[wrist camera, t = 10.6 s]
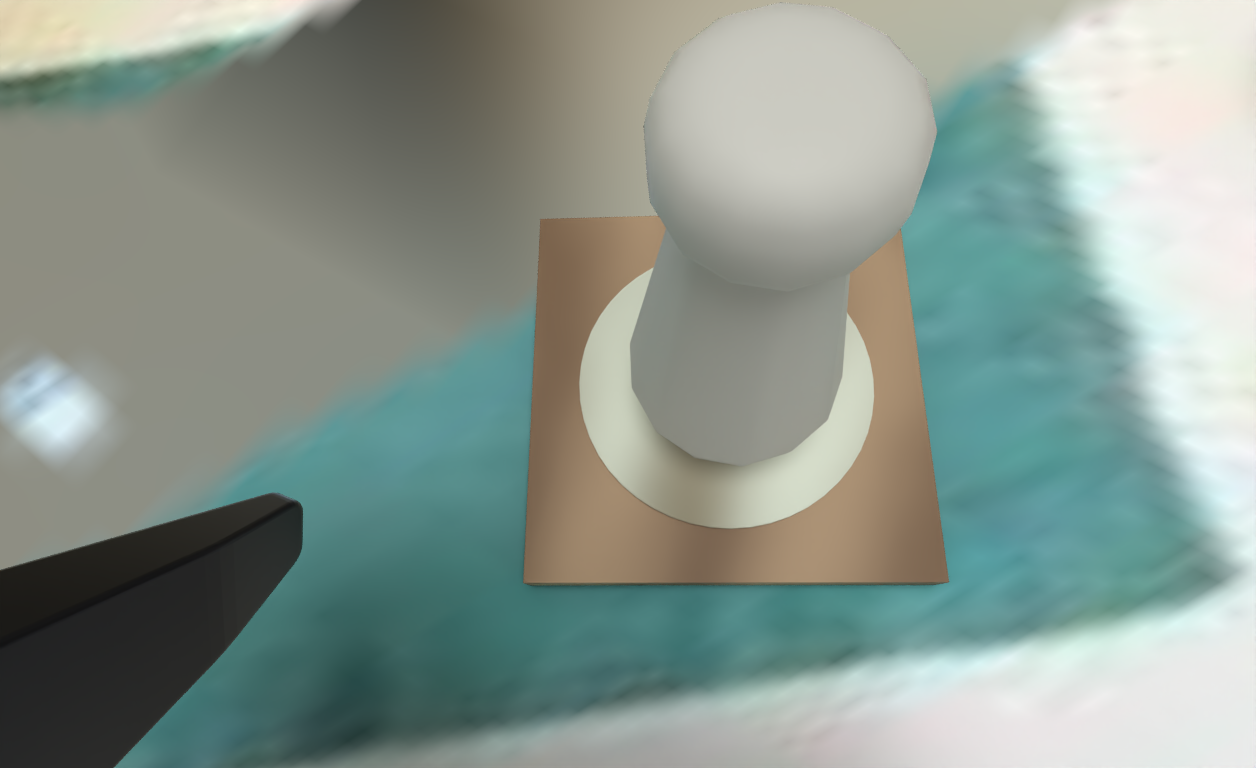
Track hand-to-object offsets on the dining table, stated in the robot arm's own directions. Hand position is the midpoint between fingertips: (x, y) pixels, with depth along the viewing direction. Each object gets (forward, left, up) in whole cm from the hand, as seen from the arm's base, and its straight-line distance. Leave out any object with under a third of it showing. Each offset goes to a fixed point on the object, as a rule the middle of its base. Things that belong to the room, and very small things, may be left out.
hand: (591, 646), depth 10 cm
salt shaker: (+3, +7, -11) cm, 14 cm away
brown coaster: (+3, +7, -12) cm, 15 cm away
